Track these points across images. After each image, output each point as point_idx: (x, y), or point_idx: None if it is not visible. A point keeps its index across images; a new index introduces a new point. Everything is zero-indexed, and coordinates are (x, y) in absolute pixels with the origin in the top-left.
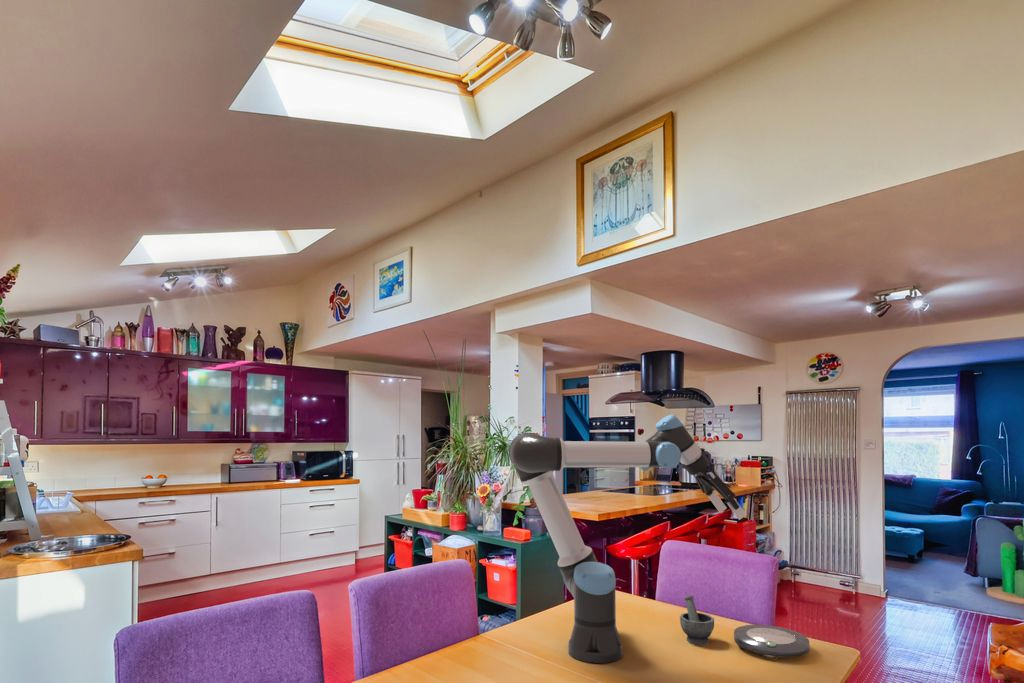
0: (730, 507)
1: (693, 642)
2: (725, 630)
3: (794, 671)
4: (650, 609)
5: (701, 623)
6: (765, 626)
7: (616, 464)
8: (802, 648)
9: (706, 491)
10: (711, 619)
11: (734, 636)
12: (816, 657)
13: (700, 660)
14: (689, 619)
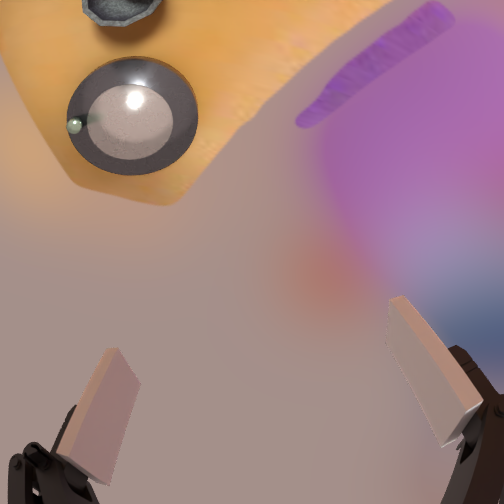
0: (75, 417)
1: None
2: (227, 43)
3: (54, 139)
4: None
5: (83, 5)
6: (187, 120)
7: None
8: (92, 163)
9: (473, 471)
10: (114, 21)
11: (122, 59)
12: None
13: (38, 11)
14: None
